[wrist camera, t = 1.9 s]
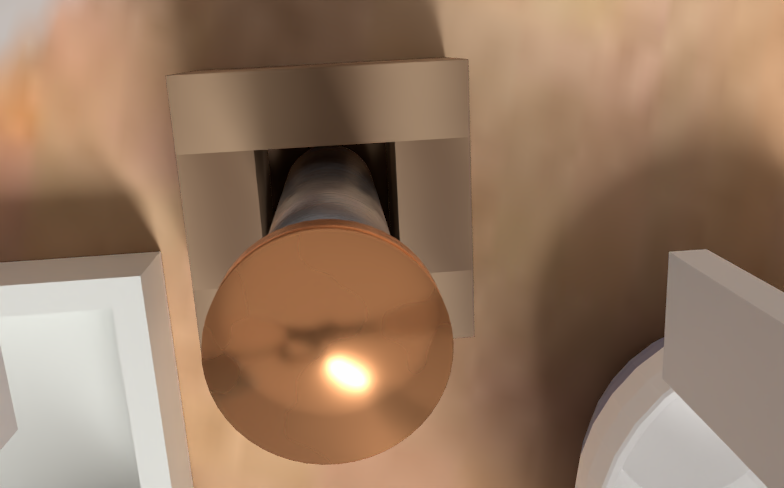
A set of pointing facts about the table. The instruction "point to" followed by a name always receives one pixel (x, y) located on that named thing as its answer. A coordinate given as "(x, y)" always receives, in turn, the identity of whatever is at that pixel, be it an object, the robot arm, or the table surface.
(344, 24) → the table surface
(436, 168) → the socket block
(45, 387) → the tray
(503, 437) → the table surface
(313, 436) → the pin
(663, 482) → the bowl
